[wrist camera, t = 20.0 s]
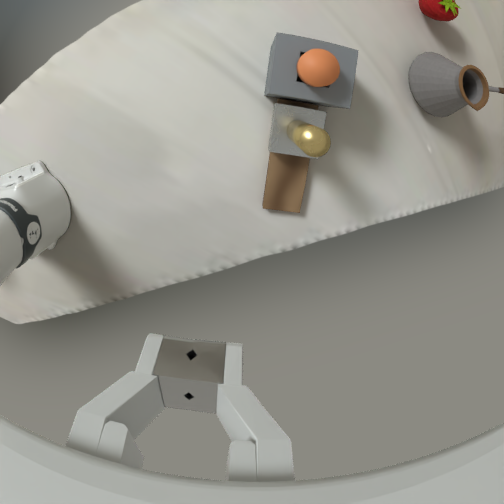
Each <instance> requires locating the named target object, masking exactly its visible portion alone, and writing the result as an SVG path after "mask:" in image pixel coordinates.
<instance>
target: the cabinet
mask: <svg viewBox="0 0 504 504" xmlns="http://www.w3.org/2000/svg"><path fill="white" fill-rule="evenodd" d="M311 49H324V50H327V51H329V52H330V53H332V54H333V55H334V56H335V57H336V59H337V60H338V62H339V66H340V73H339V76H338V78H337V80H336V81H335V82H334V83H332V84H330V85H328V86H326V87H312V86H309V85H307V84H306V83H302V82H296V80H297V68H296V67H297V62H298V60H299V58H300V57H301V56H302V55H303V54H304V53H306V52H307V51H309V50H311ZM357 57H358V50H355V49H351V48H348V47H344V46H340V45H337V44H333V43H328V42H324V41H320V40H315V39H311V38H306V37H301V36H295V35H289V34H283V33H277V34H276V36H275V39H274V41H273V44H272V46H271V51H270V58H269V65H268V73H267V80H266V87H265V95H264V96H271V97H278V98H285V99H291V100H297V101H303V102H308V103H314V104H319V105H324V106H328V107H338V108H347V109H350V106H351V99H352V93H353V86H354V80H355V73H356V65H357Z"/></svg>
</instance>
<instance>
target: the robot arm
mask: <svg viewBox="0 0 504 504" xmlns="http://www.w3.org/2000/svg"><path fill="white" fill-rule="evenodd" d="M70 218H71V210H70V203H69V200H68V197H67V194H66V192H65V190H64V188H63V187H62V185H61V184H60V183H59V181H58V180H57V179H56V178H54V177H53V176H52V175H51V174H50V173H49V172H48V170H47V169H46V167H45V165H44V164H43V162H41V161H37V162H34V163H31V164H29V165H26V166H23V167H21V168H18V169H16V170H13V171H11V172H8V173H6V174H3V175H1V176H0V286H1V285H2V283H3V282H4V281H5V279H6V278H7V277H8V276H9V275H10V273H11V272H12V271H13V270H14V269H15V268H19V267H20V266H21V265H23V264H24V263H25V262H27V260H28V259H33V258H35V257H36V256H37V255H39V254H40V253H41V252H43V251H44V250H45V249H49V250H51V249H53V248H54V247H55V245H56V243H57V240H58V238H59V237H61V236H62V235H63V234H64V233H65V232H66V230H67V229H68V226H69V223H70ZM164 407H168V408H175V409H184V410H192V411H199V412H207V413H216V415H217V417H218V419H219V420H220V422H221V424H222V425H223V427H224V429H225V430H226V432H227V434H228V436H229V437H230V439H231V441H232V443H231V444H230V448H229V453H228V459H227V465H226V475H225V481H222V480H209V479H200V478H191V477H184V476H177V475H171V474H165V473H159V472H154V471H149V470H144V469H142V467H143V460H144V457H143V455H142V453H141V451H140V450H139V448H138V446H137V444H136V443H135V441H134V440H135V439H136V438H137V437H138V436H139V435H140V434H141V433H142V432H143V431H144V430H145V428H146V427H147V426H148V425H149V424H150V423H151V422H152V421H153V420H154V419H155V418H156V417H157V416H158V414H160V413H161V412H162V411H163V410H164ZM0 504H504V423H503V424H500V425H498V426H496V427H494V428H492V429H490V430H488V431H486V432H484V433H482V434H480V435H477V436H475V437H473V438H471V439H468V440H466V441H464V442H461V443H459V444H456V445H454V446H451V447H449V448H446V449H443V450H441V451H438V452H435V453H432V454H429V455H427V456H423V457H420V458H417V459H414V460H410V461H407V462H403V463H399V464H396V465H392V466H388V467H384V468H380V469H375V470H370V471H365V472H360V473H354V474H349V475H342V476H335V477H328V478H320V479H309V480H296V481H295V478H294V468H293V458H292V448H291V440H290V439H289V438H288V436H287V435H286V434H285V433H284V431H283V430H282V429H281V428H280V427H279V425H278V424H277V423H276V422H275V420H274V419H273V418H272V417H271V416H270V414H269V413H268V412H267V410H266V409H265V408H264V407H263V405H262V404H261V403H260V402H259V400H258V399H257V398H256V397H255V395H254V394H253V393H252V391H251V390H250V388H249V387H248V386H243V345H242V344H241V343H228V342H218V341H206V340H197V339H195V340H193V339H186V338H180V337H173V336H166V335H159V334H154V333H149V335H148V336H147V338H146V340H145V343H144V347H143V349H142V352H141V355H140V358H139V361H138V364H137V367H136V370H135V372H133V371H130V372H129V373H128V374H126V375H125V376H123V377H122V378H121V379H119V380H118V381H117V382H116V383H114V384H113V385H111V386H110V387H109V388H107V389H106V390H105V391H103V392H102V393H101V394H99V395H98V396H96V397H95V398H94V399H92V400H91V401H90V402H88V403H87V404H86V405H84V406H83V407H81V408H80V409H79V410H78V412H77V415H76V417H75V420H74V423H73V426H72V428H71V431H70V434H69V437H68V440H67V443H66V446H64V445H62V444H59V443H57V442H54V441H52V440H50V439H47V438H45V437H43V436H41V435H38V434H36V433H34V432H32V431H30V430H28V429H26V428H24V427H22V426H20V425H18V424H16V423H14V422H12V421H10V420H9V419H7V418H5V417H3V416H1V415H0Z"/></svg>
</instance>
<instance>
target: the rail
mask: <svg viewBox="0 0 504 504" xmlns="http://www.w3.org/2000/svg"><path fill="white" fill-rule="evenodd" d="M277 103H278V104H285V105H291V106H297V107H303V108H308V109H314V110H318V106H317V105H312V104H307V103H301V102H296V101H290V100H283V99H277ZM309 160H310V158H308V157H302V156H295V155H288V154H281V153H274V152H270V156H269V163H268V170H267V177H266V184H265V191H264V198H263V208H264V209H272V210H281V211H289V212H297V213H300V208H301V203H302V198H303V193H304V187H305V182H306V177H307V171H308V166H309Z"/></svg>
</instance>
